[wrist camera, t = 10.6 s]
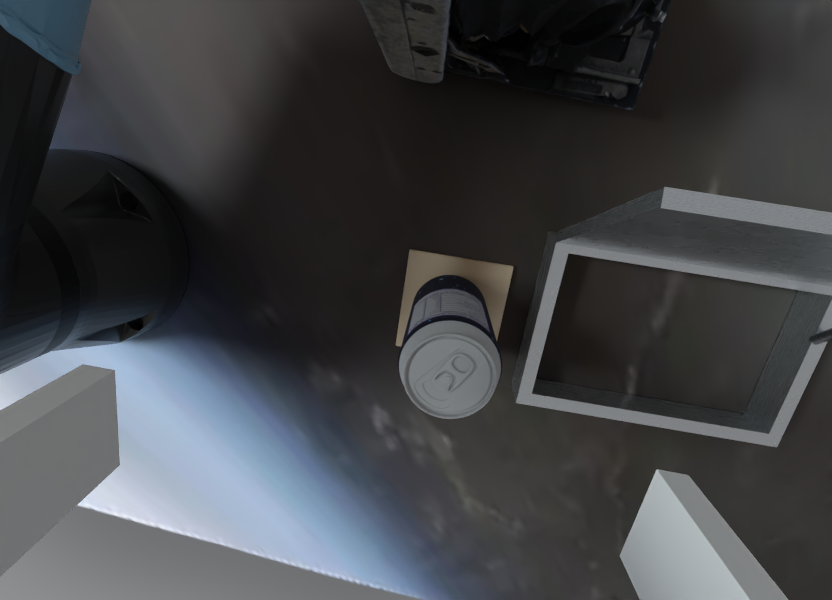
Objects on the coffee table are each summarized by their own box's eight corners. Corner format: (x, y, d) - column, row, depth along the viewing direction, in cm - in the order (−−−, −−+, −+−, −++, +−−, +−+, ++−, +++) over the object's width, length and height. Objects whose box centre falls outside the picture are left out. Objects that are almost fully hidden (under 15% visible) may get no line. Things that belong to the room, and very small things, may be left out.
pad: (396, 343, 35) (395, 345, 35) (409, 249, 33) (409, 250, 32) (491, 359, 35) (492, 361, 34) (512, 265, 32) (513, 266, 32)
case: (510, 385, 35) (555, 538, 21) (560, 179, 30) (667, 186, 16) (751, 426, 35) (974, 613, 20) (843, 223, 30) (1229, 274, 15)
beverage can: (398, 310, 34) (373, 381, 22) (445, 257, 32) (443, 304, 21) (452, 354, 34) (454, 444, 23) (500, 303, 33) (528, 374, 21)
